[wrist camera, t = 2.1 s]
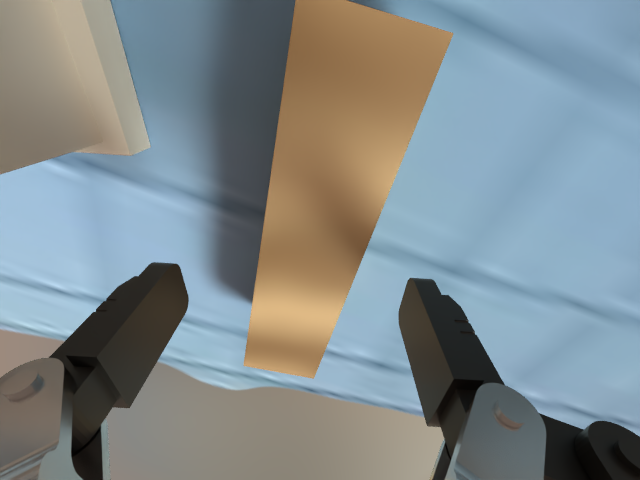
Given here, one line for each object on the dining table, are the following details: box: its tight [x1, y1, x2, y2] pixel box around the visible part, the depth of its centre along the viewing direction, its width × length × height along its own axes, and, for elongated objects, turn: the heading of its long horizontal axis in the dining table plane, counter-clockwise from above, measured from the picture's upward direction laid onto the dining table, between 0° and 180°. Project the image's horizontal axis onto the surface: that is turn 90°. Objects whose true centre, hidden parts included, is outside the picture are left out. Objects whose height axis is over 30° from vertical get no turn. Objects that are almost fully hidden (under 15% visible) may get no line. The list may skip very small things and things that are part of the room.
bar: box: [244, 0, 453, 379], centre depth 13 cm, size 16×4×4 cm, turn 167°
